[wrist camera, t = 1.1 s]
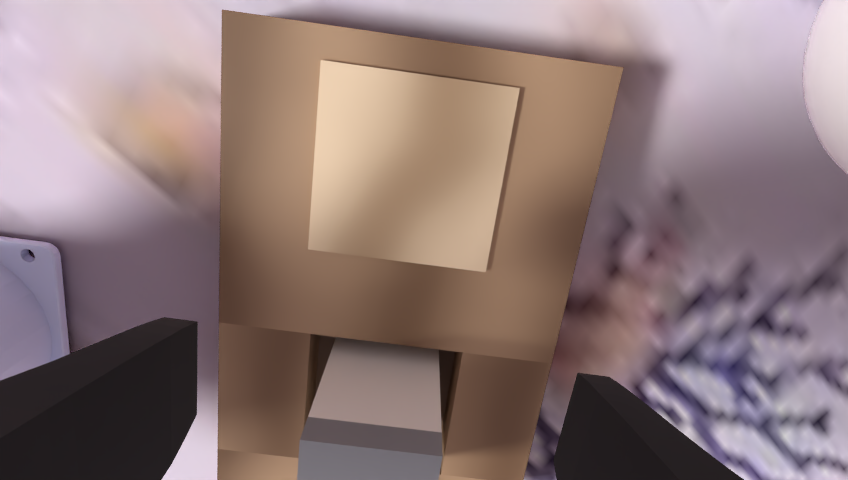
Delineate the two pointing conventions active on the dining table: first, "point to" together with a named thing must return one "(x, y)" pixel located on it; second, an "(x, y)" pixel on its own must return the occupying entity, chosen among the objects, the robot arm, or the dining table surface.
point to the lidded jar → (829, 79)
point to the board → (397, 227)
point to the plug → (374, 415)
